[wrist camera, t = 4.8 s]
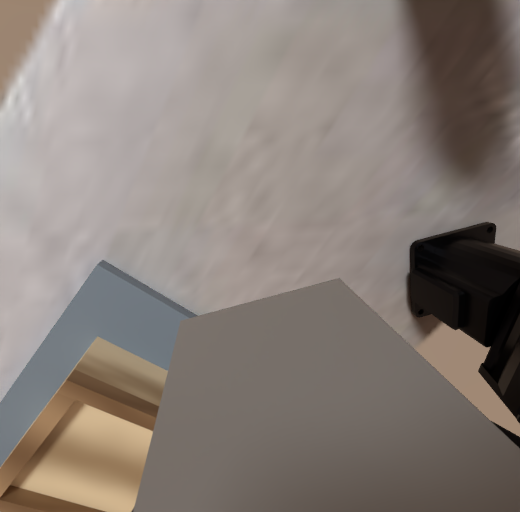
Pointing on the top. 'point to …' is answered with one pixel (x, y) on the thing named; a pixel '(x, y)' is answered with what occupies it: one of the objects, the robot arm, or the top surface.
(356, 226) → the top surface
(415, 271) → the robot arm
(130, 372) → the wooden tray
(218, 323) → the block
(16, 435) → the board
